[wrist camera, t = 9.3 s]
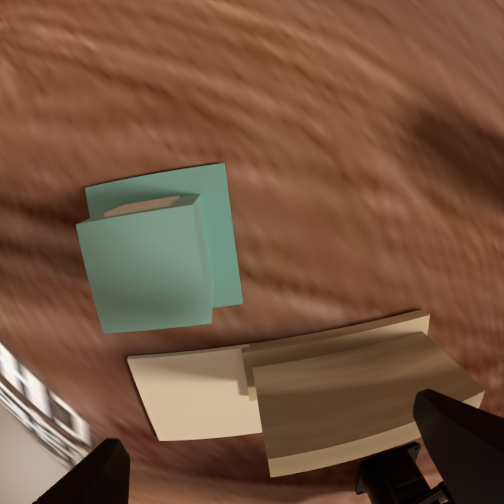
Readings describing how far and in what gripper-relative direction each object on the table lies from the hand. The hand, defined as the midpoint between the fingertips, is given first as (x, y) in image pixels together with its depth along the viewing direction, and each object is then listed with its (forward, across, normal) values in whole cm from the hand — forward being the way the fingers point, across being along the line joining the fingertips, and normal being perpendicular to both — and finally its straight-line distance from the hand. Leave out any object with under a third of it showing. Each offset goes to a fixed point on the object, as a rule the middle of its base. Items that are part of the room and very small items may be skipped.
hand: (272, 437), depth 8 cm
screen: (+12, -6, +5) cm, 14 cm away
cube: (+11, +4, -4) cm, 12 cm away
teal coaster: (+11, +4, -4) cm, 13 cm away
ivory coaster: (+12, +4, +7) cm, 14 cm away
